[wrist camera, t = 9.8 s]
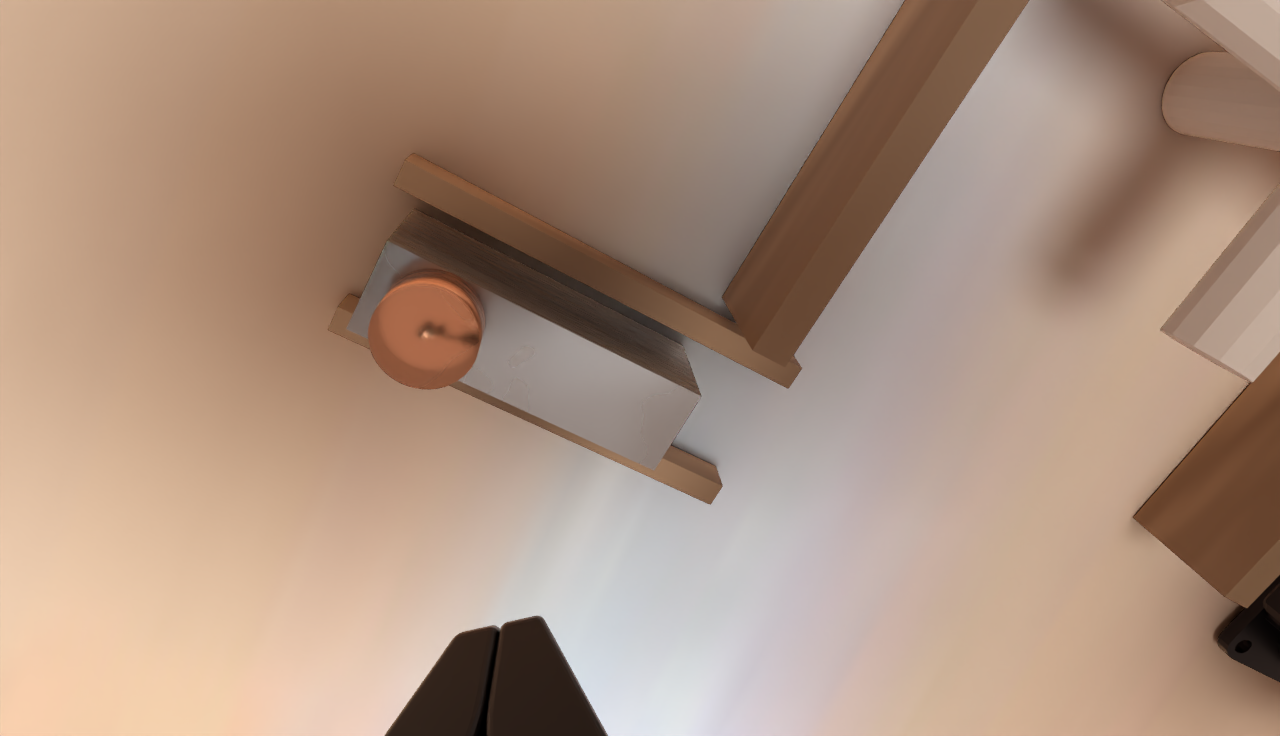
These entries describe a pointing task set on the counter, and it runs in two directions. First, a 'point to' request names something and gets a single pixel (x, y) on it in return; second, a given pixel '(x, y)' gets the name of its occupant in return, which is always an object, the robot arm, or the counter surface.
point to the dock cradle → (828, 248)
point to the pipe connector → (1247, 115)
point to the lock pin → (521, 341)
